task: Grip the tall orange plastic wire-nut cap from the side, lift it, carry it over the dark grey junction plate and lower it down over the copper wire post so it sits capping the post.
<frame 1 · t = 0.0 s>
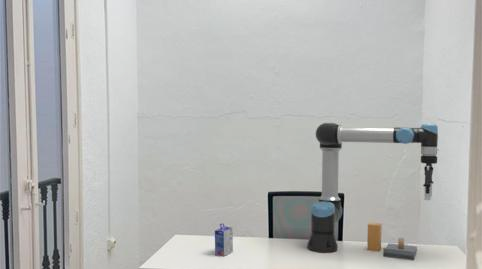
hand: (428, 198, 227), 28 cm above the table, fingers open, 13 cm apart
junction plate: (400, 253, 230), on the table
wire nut cap: (374, 249, 237), on the table
ink cartridge box: (223, 253, 225), on the table
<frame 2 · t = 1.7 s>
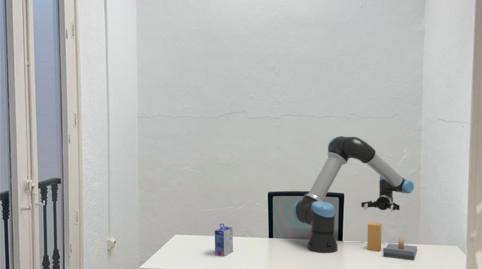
hand: (377, 208, 245), 20 cm above the table, fingers open, 13 cm apart
nothing on the table moved.
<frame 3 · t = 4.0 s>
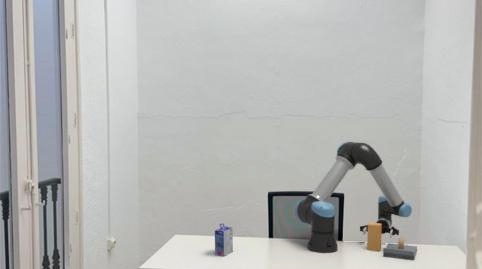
hand: (377, 233, 240), 7 cm above the table, fingers open, 13 cm apart
nothing on the table moved.
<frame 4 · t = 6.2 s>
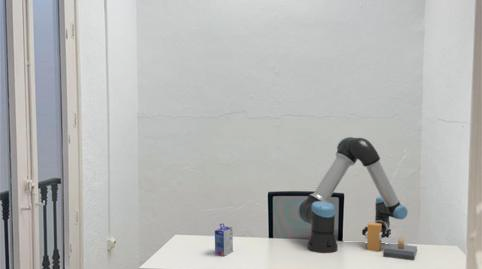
hand: (372, 236, 232), 8 cm above the table, fingers closed on wire nut cap, 6 cm apart
wire nut cap: (374, 249, 237), on the table, touching gripper
everything else where it was.
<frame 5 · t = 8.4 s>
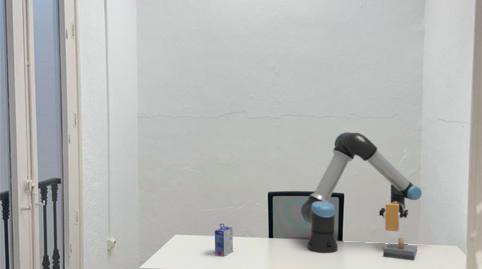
hand: (391, 216, 229), 18 cm above the table, fingers closed on wire nut cap, 6 cm apart
wire nut cap: (392, 229, 234), point 11 cm above the table, touching gripper
everything else where it was.
when the fingers open (11 cm above the table, at t = 10.8 s): wire nut cap drops 1 cm, resting on junction plate.
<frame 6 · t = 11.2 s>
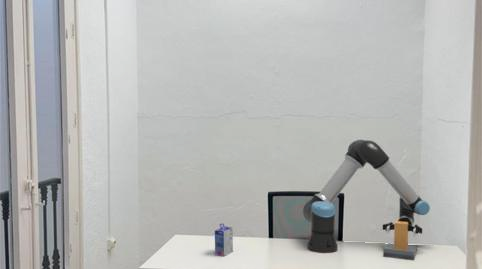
hand: (400, 232, 228), 11 cm above the table, fingers open, 12 cm apart
wire nut cap: (400, 248, 232), point 2 cm above the table, touching junction plate
everything else where it was.
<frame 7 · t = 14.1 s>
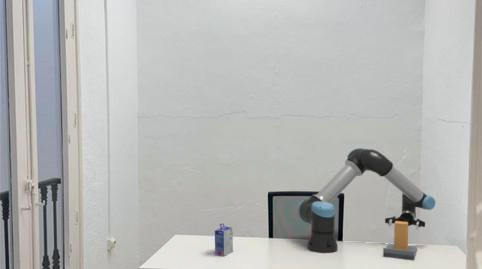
hand: (403, 225, 240), 12 cm above the table, fingers open, 13 cm apart
nothing on the table moved.
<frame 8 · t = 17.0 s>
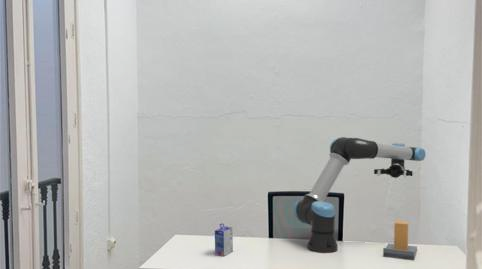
hand: (391, 173, 247), 38 cm above the table, fingers open, 13 cm apart
nothing on the table moved.
at the end: wire nut cap 0.1 cm from the target spot on the junction plate, point 2.0 cm above the junction plate's base; wire nut cap tilted 0°; the gripper is holding nothing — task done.
